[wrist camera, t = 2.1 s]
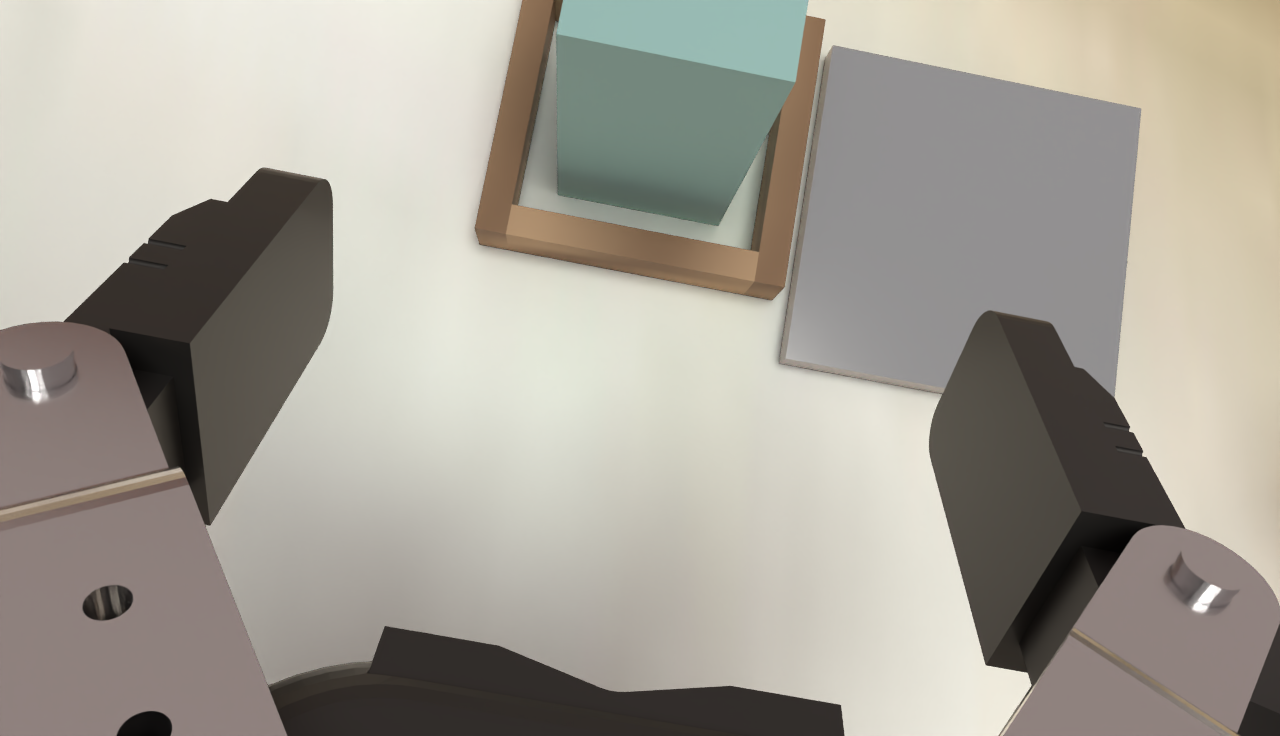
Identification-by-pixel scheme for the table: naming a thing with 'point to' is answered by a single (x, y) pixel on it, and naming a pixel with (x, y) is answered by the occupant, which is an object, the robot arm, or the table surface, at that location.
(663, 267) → the pocket frame
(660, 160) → the teal block
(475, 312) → the table surface
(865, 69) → the slate pad
